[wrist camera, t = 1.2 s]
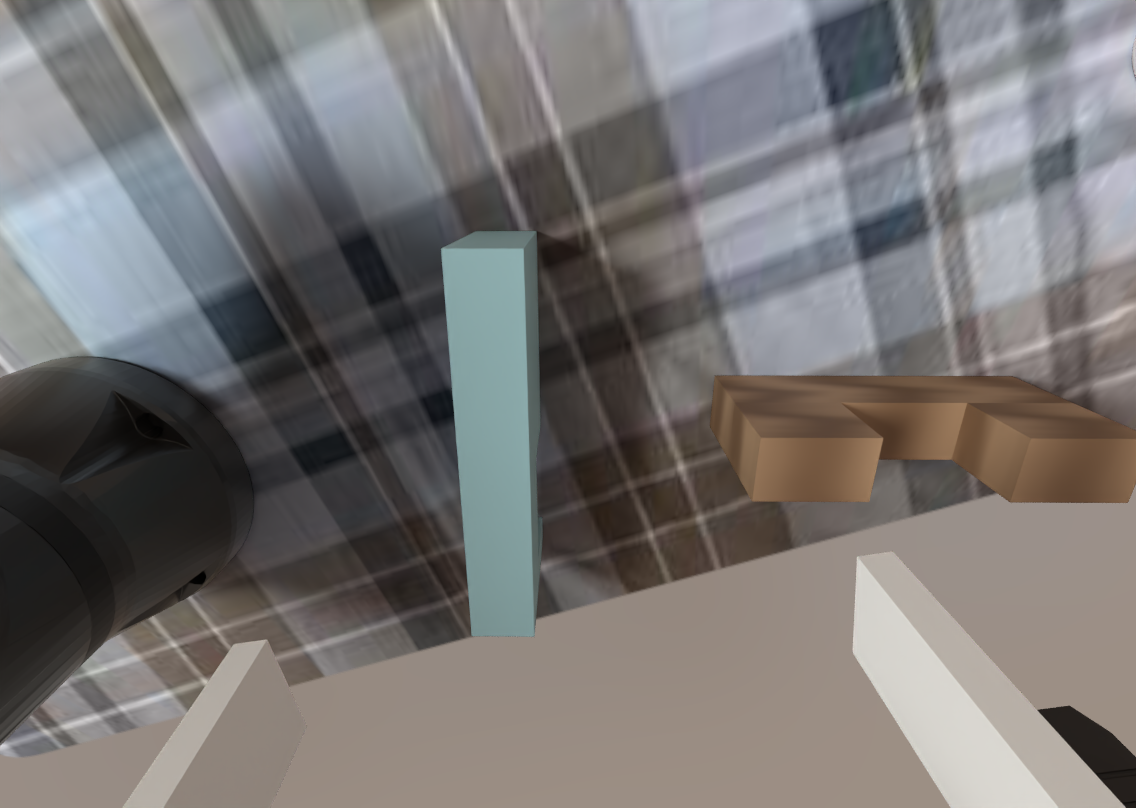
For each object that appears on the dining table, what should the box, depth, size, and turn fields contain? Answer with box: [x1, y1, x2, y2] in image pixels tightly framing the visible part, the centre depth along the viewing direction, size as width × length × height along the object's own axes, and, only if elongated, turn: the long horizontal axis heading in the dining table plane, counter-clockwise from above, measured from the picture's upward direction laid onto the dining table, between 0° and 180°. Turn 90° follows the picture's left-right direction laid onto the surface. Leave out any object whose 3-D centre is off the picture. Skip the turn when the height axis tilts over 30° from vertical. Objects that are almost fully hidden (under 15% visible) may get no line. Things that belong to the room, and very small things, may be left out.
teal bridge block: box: [441, 231, 543, 637], centre depth 27 cm, size 3×18×8 cm, turn 0°
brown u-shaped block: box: [710, 376, 1136, 503], centre depth 27 cm, size 16×3×8 cm, turn 90°
